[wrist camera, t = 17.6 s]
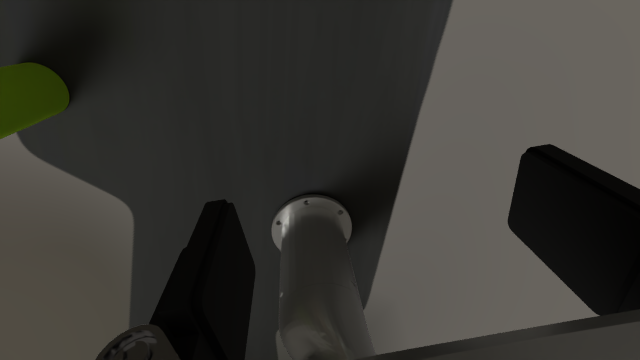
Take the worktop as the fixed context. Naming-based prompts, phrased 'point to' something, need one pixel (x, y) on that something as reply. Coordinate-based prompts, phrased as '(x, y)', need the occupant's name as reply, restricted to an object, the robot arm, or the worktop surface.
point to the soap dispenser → (29, 96)
